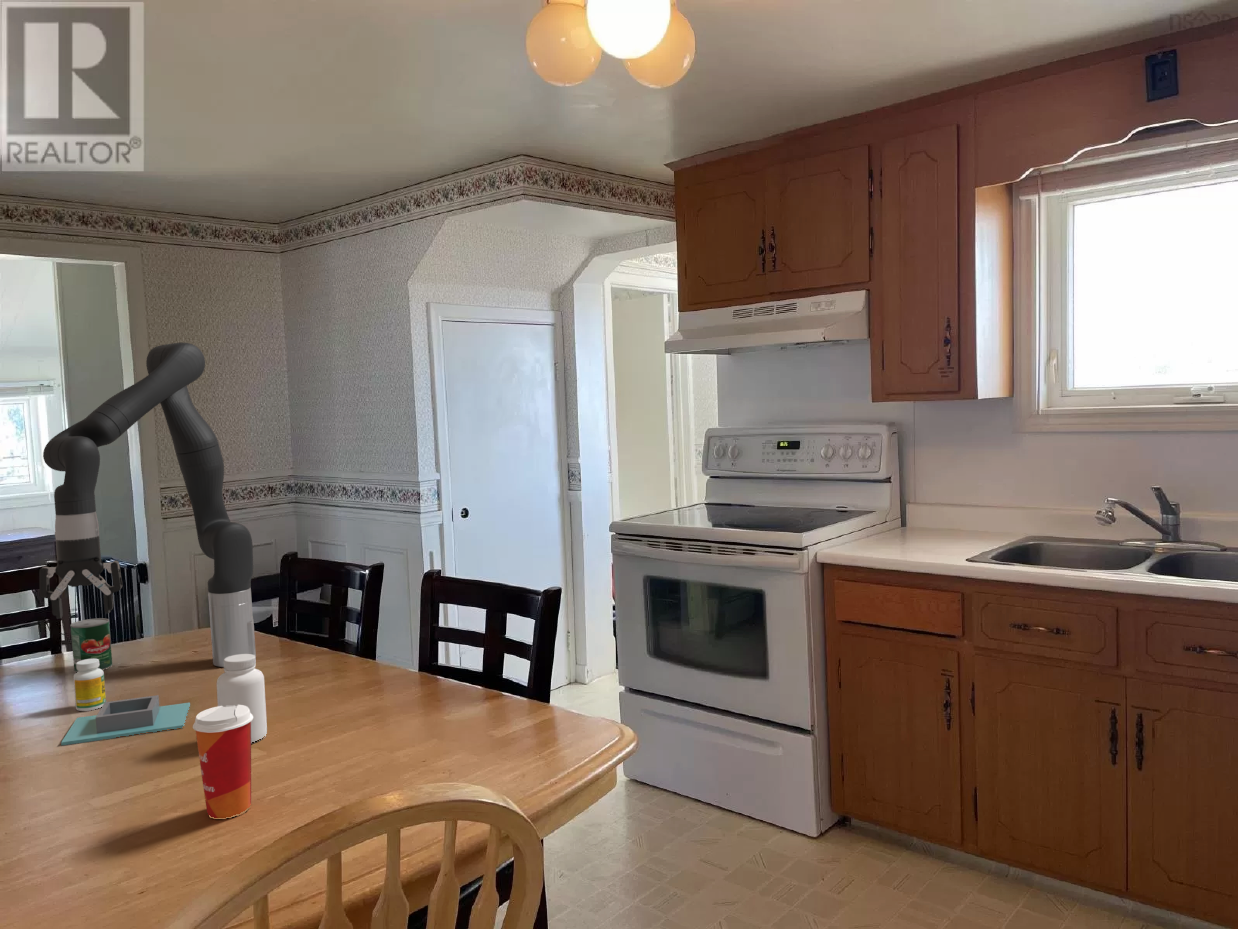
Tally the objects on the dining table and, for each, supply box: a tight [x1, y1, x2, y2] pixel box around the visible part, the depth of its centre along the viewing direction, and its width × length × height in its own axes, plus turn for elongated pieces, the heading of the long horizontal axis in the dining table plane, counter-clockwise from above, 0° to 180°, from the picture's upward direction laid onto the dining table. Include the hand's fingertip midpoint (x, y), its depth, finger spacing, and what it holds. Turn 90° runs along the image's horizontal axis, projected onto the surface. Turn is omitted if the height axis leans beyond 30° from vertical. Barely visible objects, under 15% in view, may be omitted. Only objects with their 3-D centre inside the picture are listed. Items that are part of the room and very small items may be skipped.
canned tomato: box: [69, 617, 114, 673], centre depth 213 cm, size 8×8×11 cm
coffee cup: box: [192, 705, 253, 818], centre depth 135 cm, size 8×8×15 cm
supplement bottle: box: [73, 659, 107, 712], centre depth 185 cm, size 5×5×10 cm
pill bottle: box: [216, 654, 268, 744], centre depth 165 cm, size 8×8×15 cm
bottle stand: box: [61, 694, 191, 747], centre depth 175 cm, size 20×14×4 cm
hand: (83, 615), depth 184 cm, fingers open, 8 cm apart
